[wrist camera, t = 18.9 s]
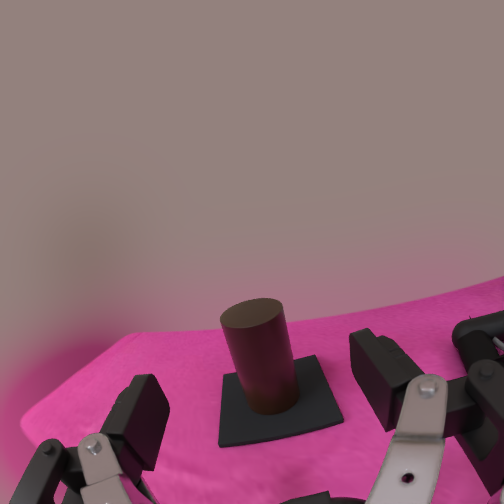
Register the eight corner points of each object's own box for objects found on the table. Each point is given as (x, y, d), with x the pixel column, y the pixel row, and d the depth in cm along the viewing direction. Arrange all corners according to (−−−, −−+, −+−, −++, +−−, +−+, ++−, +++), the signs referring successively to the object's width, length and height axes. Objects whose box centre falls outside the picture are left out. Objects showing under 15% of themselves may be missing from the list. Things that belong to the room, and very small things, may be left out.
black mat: (315, 357, 27) (315, 354, 27) (343, 422, 17) (343, 418, 17) (224, 377, 27) (223, 374, 27) (219, 447, 17) (218, 444, 17)
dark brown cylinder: (295, 375, 24) (278, 293, 22) (304, 408, 20) (287, 318, 18) (246, 385, 24) (221, 305, 23) (248, 419, 20) (217, 333, 18)
